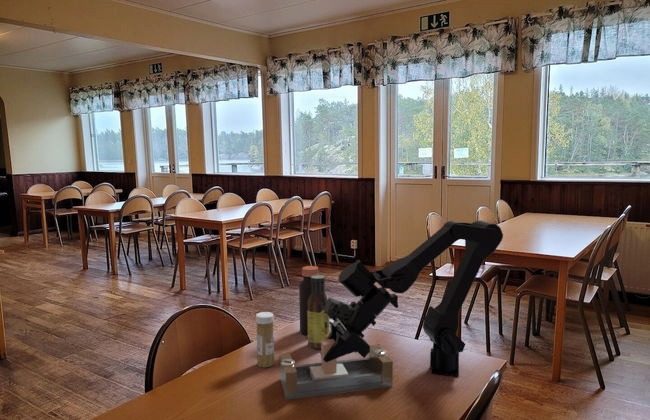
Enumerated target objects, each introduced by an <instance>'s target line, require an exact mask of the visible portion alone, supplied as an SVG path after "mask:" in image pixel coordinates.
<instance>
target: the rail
mask: <svg viewBox="0 0 650 420" xmlns="http://www.w3.org/2000/svg"><path fill="white" fill-rule="evenodd" d="M369 345H370V344H369ZM336 362H337V364H343V366H344V367H345V369H346V371H347V372H348V376H345V377H337V378H328V379H319V380H312V378H311V375H310V367H315V366H321V362H315V363H306V364H298V365H297V364H296V362H295V359H293V358H292V355H291V353H284V354H279V379H280V383H281V387H282V389H283V390H282V392H283V393H284V396H285V397H284V398H285V400H286V401H288V400H296V399H304V398H312V397H319V396H320V397H321V396H329V395H336V394H344V393H352V392H360V391H369V390H370V391H371V390H377V389H383V388H384V389H386V388H392V387H393V382H394V381H393V379H394V377H393V374H394V373H393V372H394V371H393V370H394V369H393V367H394V366H393V359H391V357H390V355H388V351H387V350H386V349H383V347H381V346H380V345H379V344H371V345H370V352H369V353H368V357H365V358H364V357H362V358H360V357H359V358H351V359H350V358H349V359H341V360H336ZM295 364H296V365H295Z"/></svg>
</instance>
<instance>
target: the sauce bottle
mask: <svg viewBox="0 0 650 420" xmlns="http://www.w3.org/2000/svg"><path fill="white" fill-rule="evenodd" d="M325 283H326V276H324V275H315V276H311V284H312V290H311V292H312V293H311V295H310V296H309V299H308V310H307V319H308V336H307V343H308V344H307V345H308V346H309V348H311V349H315V350H316V349H317V350H319V349H320V350H321V340H327V338H328V336H329V334H330V324H329V322H330V321H331V319H330V318H329V316H328V315H327V314H326V311H324V307H325V305H326V303H327V301H328V297H327V294H326V289H325V288H326V287H325V286H326V284H325Z"/></svg>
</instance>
